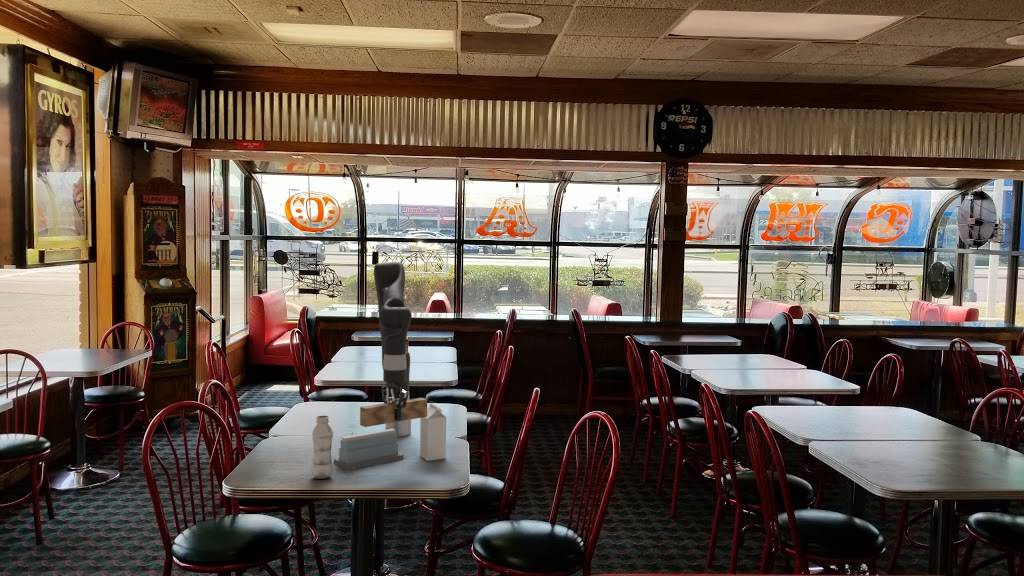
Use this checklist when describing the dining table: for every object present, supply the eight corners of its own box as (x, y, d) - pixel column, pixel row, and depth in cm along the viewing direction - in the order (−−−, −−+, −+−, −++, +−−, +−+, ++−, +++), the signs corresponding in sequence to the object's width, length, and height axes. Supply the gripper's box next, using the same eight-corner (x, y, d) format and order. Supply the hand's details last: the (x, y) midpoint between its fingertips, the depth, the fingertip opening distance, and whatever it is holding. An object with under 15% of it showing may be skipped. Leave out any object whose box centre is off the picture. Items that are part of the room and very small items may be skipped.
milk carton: (427, 461, 273) (427, 407, 272) (419, 456, 279) (420, 403, 278) (446, 459, 276) (446, 405, 275) (438, 454, 283) (439, 402, 281)
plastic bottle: (313, 475, 255) (313, 414, 254) (334, 474, 255) (334, 414, 254) (309, 481, 248) (309, 419, 247) (331, 481, 249) (331, 419, 248)
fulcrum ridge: (388, 452, 283) (388, 426, 283) (403, 458, 276) (404, 431, 275) (333, 463, 269) (333, 435, 268) (348, 469, 261) (348, 441, 261)
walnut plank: (421, 414, 268) (421, 397, 268) (427, 416, 266) (427, 399, 265) (360, 425, 253) (360, 406, 252) (365, 427, 250) (365, 408, 250)
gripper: (416, 369, 255) (415, 421, 256) (393, 363, 266) (392, 413, 267) (396, 371, 250) (396, 424, 251) (373, 365, 261) (373, 416, 262)
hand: (394, 418), depth 259 cm, fingers closed on walnut plank, 3 cm apart
